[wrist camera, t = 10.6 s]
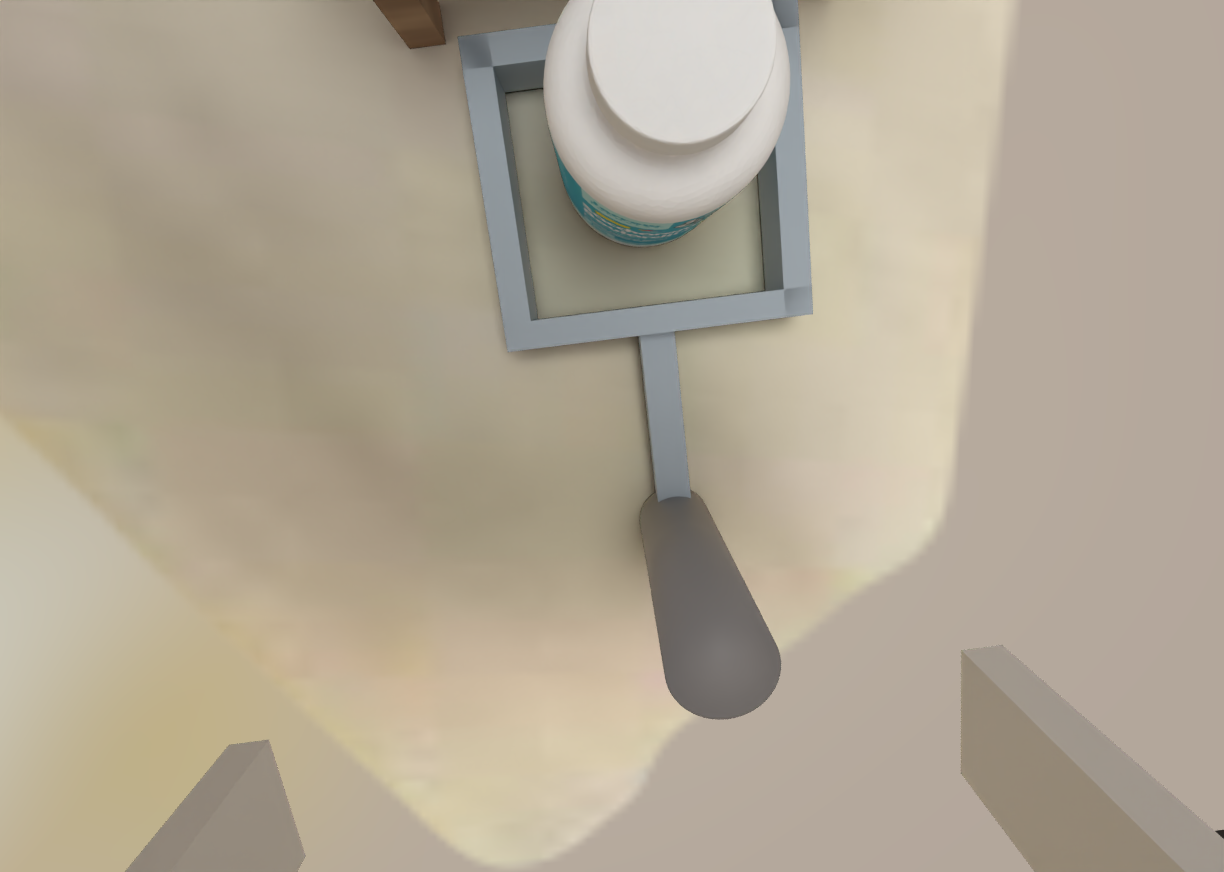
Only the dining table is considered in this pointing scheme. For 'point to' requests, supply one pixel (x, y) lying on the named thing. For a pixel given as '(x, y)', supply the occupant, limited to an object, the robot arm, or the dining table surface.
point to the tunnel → (415, 21)
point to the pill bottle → (663, 109)
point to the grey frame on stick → (659, 372)
